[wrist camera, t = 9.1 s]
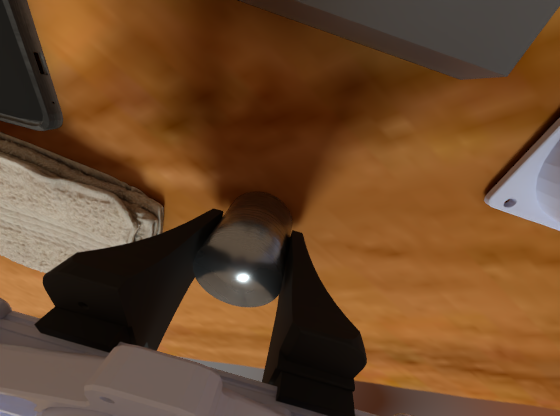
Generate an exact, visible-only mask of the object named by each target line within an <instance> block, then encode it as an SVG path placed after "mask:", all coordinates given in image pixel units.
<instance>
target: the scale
mask: <svg viewBox="0 0 560 416" xmlns="http://www.w3.org/2000/svg"><path fill="white" fill-rule="evenodd" d="M239 1H241V2H244V3H247V4H250V5H253V6H255V7H258V8H261V9H264V10H267V11H270V12H272V13H275V14H278V15H281V16H284V17H286V18H289V19H292V20H295V21H298V22H300V23H303V24H306V25H309V26H312V27H314V28H317V29H320V30H323V31H326V32H328V33H331V34H334V35H337V36H340V37H342V38H345V39H348V40H351V41H354V42H356V43H359V44H362V45H365V46H368V47H371V48H373V49H376V50H379V51H382V52H385V53H387V54H390V55H393V56H396V57H399V58H401V59H404V60H407V61H410V62H413V63H415V64H418V65H421V66H424V67H427V68H429V69H432V70H435V71H438V72H441V73H443V74H446V75H449V76H452V77H455V78H457V79H460V80H462V79H477V78H491V77H506V76H508V74H509V73H510V72H511V70H512V69H513V68H514V66H515V65H516V64H517V62H518V61H519V60H520V58H521V57H522V56H523V54H524V53H525V52H526V50H527V49H528V48H529V46H530V45H531V44H532V42H533V41H534V39H535V38H536V37H537V35H538V34H539V33H540V31H541V30H542V29H543V27H544V26H545V25H546V23H547V22H548V21H549V19H550V18H551V17H552V15H553V14H554V13H555V11H556V10H557V9H558V7H559V6H560V0H239Z"/></svg>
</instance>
